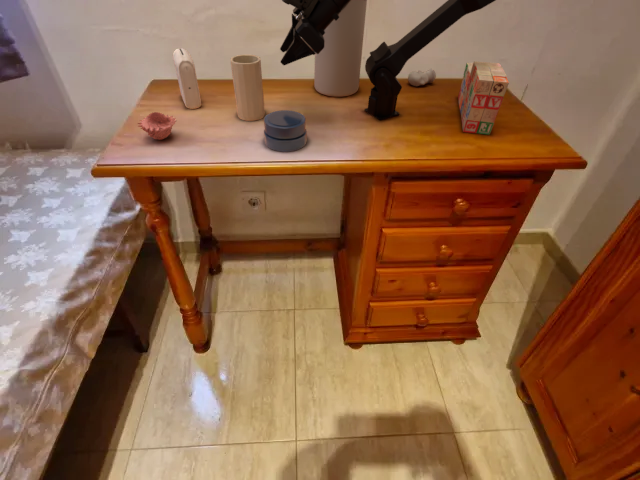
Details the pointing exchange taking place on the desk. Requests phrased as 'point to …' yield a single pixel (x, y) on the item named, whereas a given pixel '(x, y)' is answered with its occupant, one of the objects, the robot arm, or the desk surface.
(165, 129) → the pink clay bowl
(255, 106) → the cup
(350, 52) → the cylinder vase
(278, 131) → the round ridged metallic base
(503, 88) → the stack of blocks
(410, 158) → the desk surface
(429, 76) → the smooth white sculpture
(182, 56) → the photo printer
